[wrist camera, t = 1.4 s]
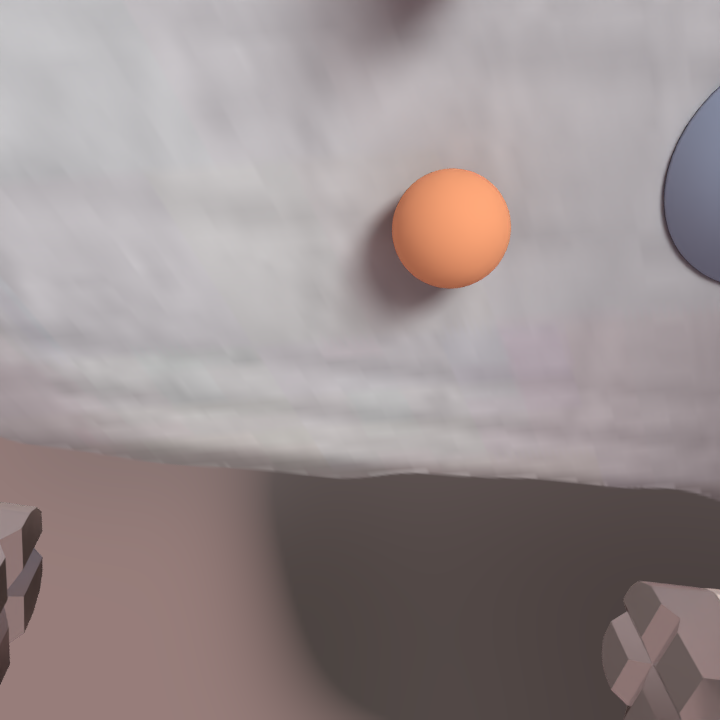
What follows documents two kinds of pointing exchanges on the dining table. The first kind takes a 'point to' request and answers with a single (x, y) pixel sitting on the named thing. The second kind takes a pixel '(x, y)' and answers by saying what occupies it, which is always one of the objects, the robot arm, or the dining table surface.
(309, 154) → the dining table surface
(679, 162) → the blue-grey disc
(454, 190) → the ball
